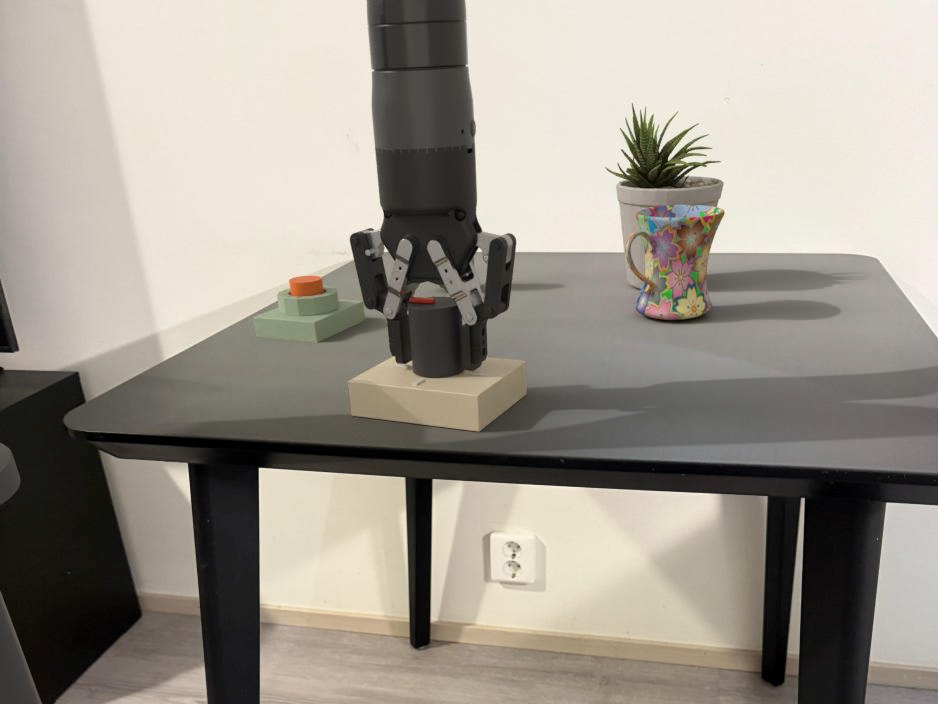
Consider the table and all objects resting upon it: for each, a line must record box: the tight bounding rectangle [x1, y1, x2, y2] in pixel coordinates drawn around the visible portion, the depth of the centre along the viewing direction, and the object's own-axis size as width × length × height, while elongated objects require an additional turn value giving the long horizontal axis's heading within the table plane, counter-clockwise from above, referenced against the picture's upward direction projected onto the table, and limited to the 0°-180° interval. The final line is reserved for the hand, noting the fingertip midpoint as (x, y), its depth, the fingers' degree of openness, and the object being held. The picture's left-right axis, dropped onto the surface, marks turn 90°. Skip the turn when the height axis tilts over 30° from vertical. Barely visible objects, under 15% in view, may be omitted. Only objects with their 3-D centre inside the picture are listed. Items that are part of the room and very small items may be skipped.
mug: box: [624, 205, 725, 321], centre depth 100 cm, size 12×9×11 cm
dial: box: [407, 296, 464, 378], centre depth 77 cm, size 4×4×6 cm
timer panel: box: [347, 356, 528, 433], centre depth 79 cm, size 10×12×3 cm
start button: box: [288, 275, 324, 296], centre depth 101 cm, size 4×4×2 cm
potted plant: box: [604, 102, 725, 290], centre depth 111 cm, size 13×14×20 cm
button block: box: [252, 285, 366, 343], centre depth 103 cm, size 10×8×4 cm
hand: (439, 364), depth 78 cm, fingers open, 6 cm apart
